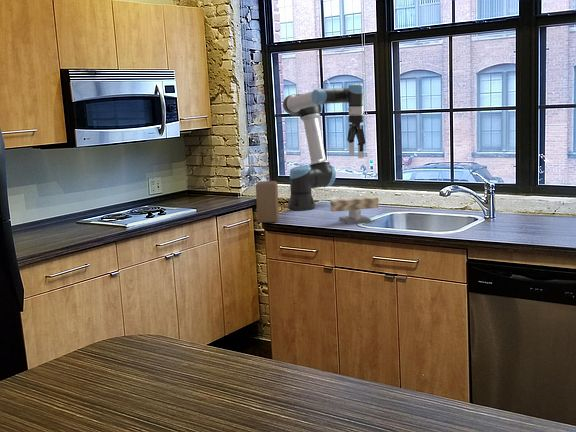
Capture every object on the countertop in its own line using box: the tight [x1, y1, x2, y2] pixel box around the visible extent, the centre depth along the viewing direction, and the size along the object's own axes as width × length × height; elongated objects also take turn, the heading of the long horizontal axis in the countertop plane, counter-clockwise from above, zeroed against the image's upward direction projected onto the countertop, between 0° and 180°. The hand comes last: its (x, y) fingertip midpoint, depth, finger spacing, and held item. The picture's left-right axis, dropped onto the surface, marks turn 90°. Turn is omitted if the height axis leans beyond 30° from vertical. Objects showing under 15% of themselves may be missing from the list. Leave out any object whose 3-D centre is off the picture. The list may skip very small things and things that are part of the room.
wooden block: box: [255, 180, 280, 224], centre depth 342 cm, size 10×10×20 cm
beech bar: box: [329, 196, 379, 213], centre depth 335 cm, size 24×4×5 cm, turn 106°
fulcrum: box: [339, 209, 372, 225], centre depth 336 cm, size 12×12×6 cm
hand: (356, 156), depth 346 cm, fingers open, 13 cm apart
